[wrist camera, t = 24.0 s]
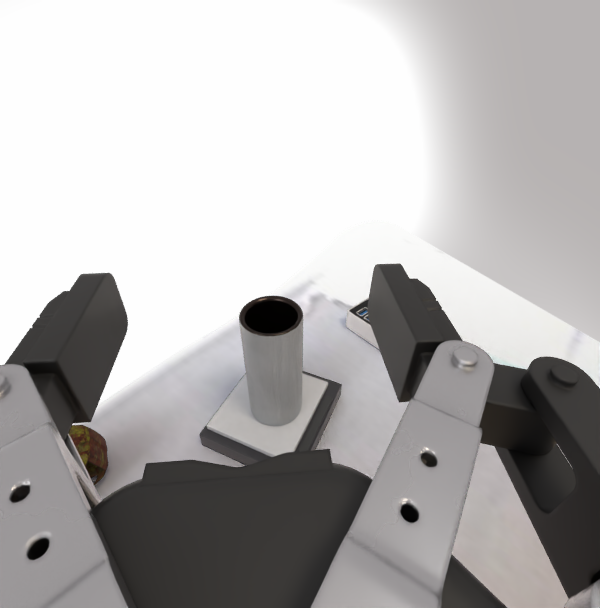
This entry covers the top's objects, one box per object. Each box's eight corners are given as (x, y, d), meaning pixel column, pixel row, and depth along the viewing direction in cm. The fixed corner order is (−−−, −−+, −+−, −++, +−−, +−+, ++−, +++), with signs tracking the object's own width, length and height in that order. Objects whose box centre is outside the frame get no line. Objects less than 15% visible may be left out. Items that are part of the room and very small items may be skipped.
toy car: (73, 402, 26) (83, 470, 23) (111, 431, 32) (122, 488, 29) (-138, 483, 22) (-153, 572, 20) (-53, 499, 28) (-56, 570, 26)
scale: (297, 489, 29) (297, 475, 28) (202, 445, 32) (197, 430, 30) (340, 394, 36) (342, 380, 35) (259, 366, 39) (258, 351, 38)
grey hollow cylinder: (312, 405, 32) (316, 315, 26) (272, 437, 30) (266, 345, 24) (279, 376, 35) (275, 287, 29) (240, 403, 33) (226, 312, 26)
